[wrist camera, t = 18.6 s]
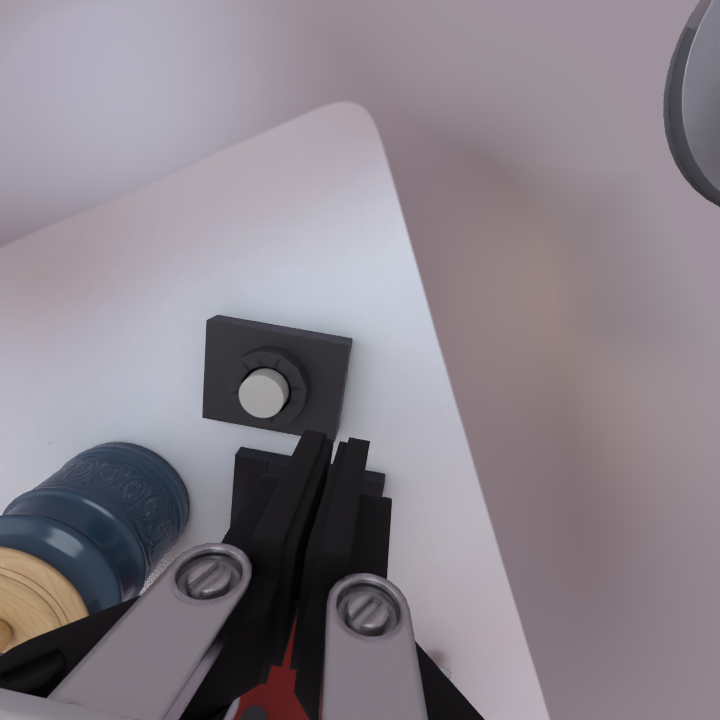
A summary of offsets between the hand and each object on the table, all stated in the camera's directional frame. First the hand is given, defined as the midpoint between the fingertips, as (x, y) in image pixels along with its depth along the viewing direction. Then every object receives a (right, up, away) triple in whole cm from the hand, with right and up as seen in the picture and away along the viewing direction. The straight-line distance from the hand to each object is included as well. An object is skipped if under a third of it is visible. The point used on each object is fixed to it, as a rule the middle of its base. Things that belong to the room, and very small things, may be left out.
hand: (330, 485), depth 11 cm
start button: (-7, +1, +25) cm, 25 cm away
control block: (-7, +2, +28) cm, 29 cm away
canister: (-23, -11, +34) cm, 42 cm away
